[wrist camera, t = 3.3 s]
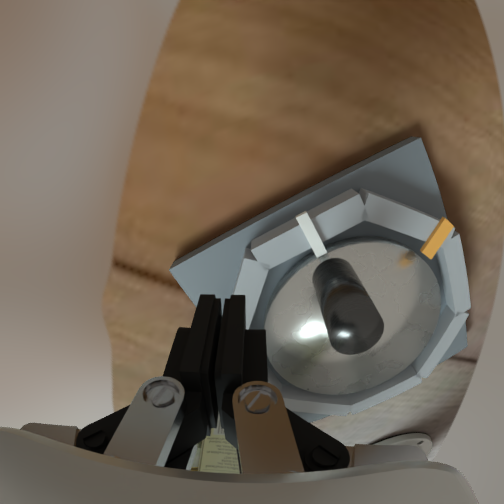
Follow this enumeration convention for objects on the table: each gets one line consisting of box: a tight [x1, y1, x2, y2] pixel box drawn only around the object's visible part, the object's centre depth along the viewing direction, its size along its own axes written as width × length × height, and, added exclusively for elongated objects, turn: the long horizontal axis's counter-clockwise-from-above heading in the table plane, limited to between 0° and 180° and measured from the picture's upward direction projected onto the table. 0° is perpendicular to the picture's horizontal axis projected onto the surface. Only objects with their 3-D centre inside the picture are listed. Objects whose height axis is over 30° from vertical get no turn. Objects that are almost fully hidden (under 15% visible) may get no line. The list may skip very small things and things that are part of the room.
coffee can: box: [191, 413, 240, 474], centre depth 19 cm, size 10×10×14 cm
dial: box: [264, 236, 441, 395], centre depth 16 cm, size 12×12×6 cm
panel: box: [169, 137, 471, 423], centre depth 19 cm, size 18×17×3 cm
